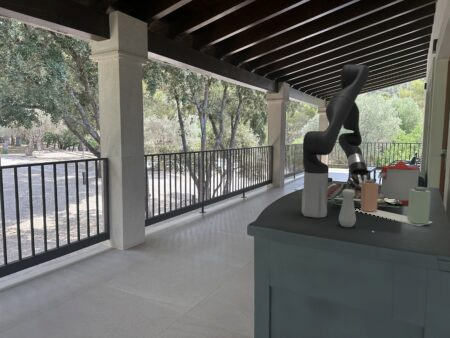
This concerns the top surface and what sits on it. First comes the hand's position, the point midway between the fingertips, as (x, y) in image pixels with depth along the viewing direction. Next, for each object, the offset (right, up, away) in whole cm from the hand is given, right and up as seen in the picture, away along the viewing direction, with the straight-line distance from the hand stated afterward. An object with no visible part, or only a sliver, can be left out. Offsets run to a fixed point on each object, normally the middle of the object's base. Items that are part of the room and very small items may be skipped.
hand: (365, 197), depth 146 cm
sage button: (+10, -8, -21) cm, 24 cm away
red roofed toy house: (+21, -4, +16) cm, 27 cm away
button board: (+5, -7, -10) cm, 13 cm away
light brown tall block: (0, -6, -2) cm, 6 cm away
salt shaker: (-17, -8, -24) cm, 31 cm away
